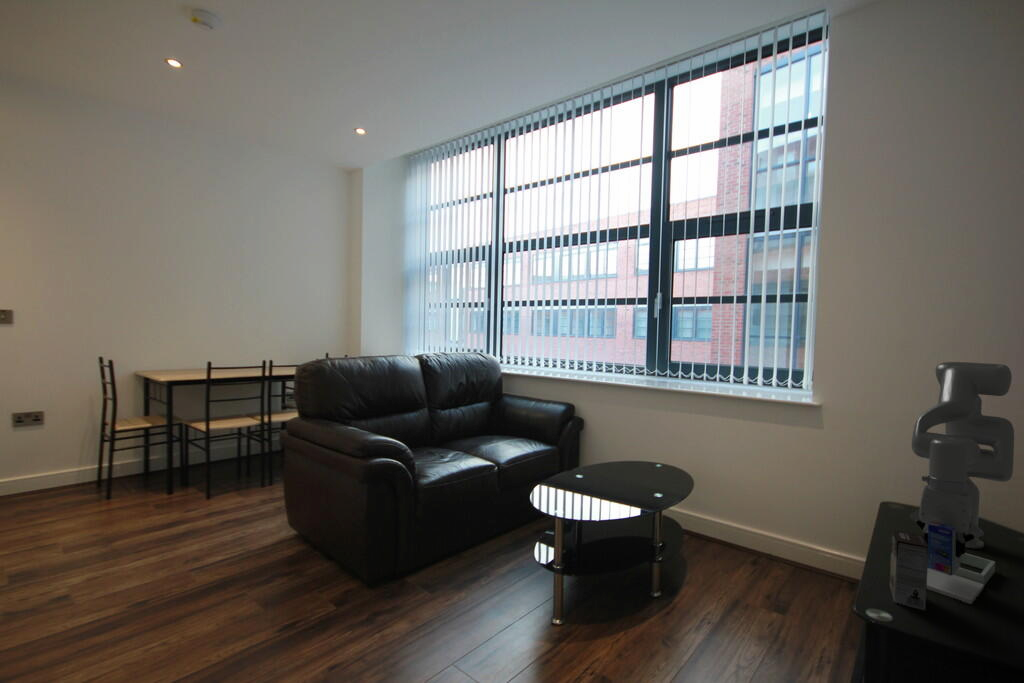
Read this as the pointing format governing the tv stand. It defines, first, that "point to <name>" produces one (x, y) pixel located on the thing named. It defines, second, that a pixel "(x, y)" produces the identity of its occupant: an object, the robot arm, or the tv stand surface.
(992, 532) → the tv stand surface
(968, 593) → the tile
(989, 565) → the frame
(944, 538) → the ink cartridge box
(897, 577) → the coffee box
